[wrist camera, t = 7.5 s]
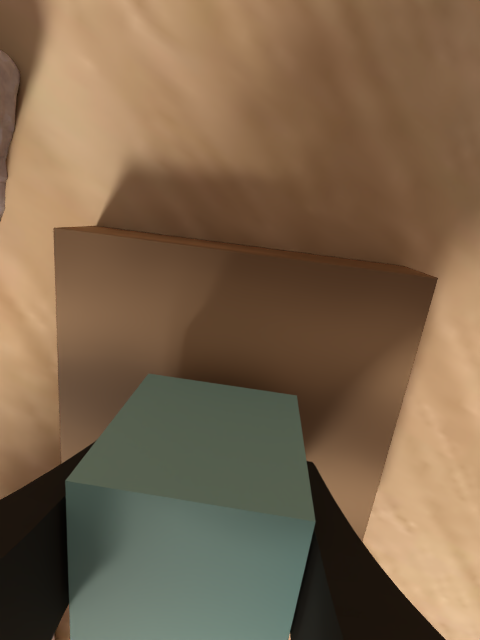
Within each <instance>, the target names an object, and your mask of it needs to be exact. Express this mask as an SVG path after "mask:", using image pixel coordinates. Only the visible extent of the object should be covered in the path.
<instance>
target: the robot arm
mask: <svg viewBox="0 0 480 640" xmlns="http://www.w3.org/2000/svg"><path fill="white" fill-rule="evenodd" d="M96 441H97V440H96ZM96 441H95V442H96ZM95 442H93V443H92V444H90V445H89V446H87V447H86V448H84V449H83V450H81V451H80V452H79V453H77V454H76V455H74V456H72V457H71V458H69V459H68V460H66V461H65V462H63V463H62V464H60V465H59V466H57V467H56V468H54V469H53V470H51V471H49V472H48V473H46V474H44V475H43V476H41V477H39V478H38V479H36V480H34V481H33V482H31V483H29V484H28V485H26V486H24V487H23V488H21V489H19V490H17V491H16V492H14V493H12V494H10V495H8V496H7V497H5V498H3V499H1V500H0V640H55V638H54V633H55V631H56V629H57V627H58V624H59V622H60V620H61V618H62V616H63V614H64V612H65V610H66V608H67V606H68V604H69V582H68V550H67V519H66V487H65V480H66V479H67V478H68V477H69V475H70V474H71V473H72V471H73V470H74V469H75V468H76V466H77V465H78V464H79V462H80V461H81V460H82V459H83V457H84V456H85V455H86V453H87V452H88V451H89V450H90V448H91V447H92V446H93V444H94V443H95ZM307 468H308V474H309V481H310V488H311V495H312V501H313V508H314V515H315V521H316V522H315V526H314V530H313V535H312V539H311V543H310V548H309V552H308V556H307V561H306V565H305V569H304V574H303V578H302V582H301V587H300V591H299V595H298V599H297V604H296V608H295V612H294V617H293V621H292V625H291V630H290V636H291V640H446V639H445V638H444V637H443V636H442V635H441V634H440V633H439V632H438V631H437V630H436V629H435V628H434V627H433V626H432V625H431V624H430V623H429V622H428V621H427V620H426V619H425V617H424V616H423V615H422V614H421V613H420V612H419V611H418V610H417V609H416V608H415V607H414V606H413V605H412V603H411V602H410V601H409V600H408V599H407V598H406V597H405V596H404V594H403V593H402V592H401V591H400V590H399V589H398V587H397V586H396V585H395V584H394V583H393V581H392V580H391V579H390V578H389V576H388V575H387V574H386V573H385V572H384V570H383V569H382V568H381V567H380V565H379V564H378V563H377V561H376V560H375V559H374V557H373V556H372V555H371V553H370V552H369V551H368V549H367V548H366V546H365V545H364V544H363V542H362V541H361V539H360V538H359V537H358V535H357V534H356V532H355V531H354V529H353V528H352V526H351V525H350V523H349V522H348V520H347V519H346V517H345V515H344V514H343V512H342V511H341V509H340V508H339V506H338V504H337V503H336V501H335V499H334V498H333V496H332V494H331V493H330V491H329V489H328V487H327V486H326V484H325V482H324V480H323V479H322V477H321V475H320V473H319V471H318V469H317V467H316V466H315V464H314V463H313V462H310V461H307Z"/></svg>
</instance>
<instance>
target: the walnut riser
mask: <svg viewBox="0 0 480 640" xmlns="http://www.w3.org/2000/svg"><path fill="white" fill-rule="evenodd" d="M54 258H55V289H56V320H57V351H58V382H59V413H60V444H61V464H62V463H63V462H65V461H66V460H68V459H69V458H71V457H72V456H74V455H76V454H77V453H79V452H80V451H81V450H83V449H84V448H86V447H87V446H89V445H90V444H92V443H93V442H95V441H96V440H97V439H98V438H99V437H100V435H101V434H102V433H103V432H104V430H105V429H106V428H107V426H108V425H109V424H110V423H111V421H112V420H113V419H114V417H115V416H116V415H117V414H118V412H119V411H120V410H121V408H122V407H123V406H124V405H125V403H126V402H127V401H128V399H129V398H130V397H131V396H132V394H133V393H134V392H135V390H136V389H137V388H138V387H139V385H140V384H141V383H142V381H143V380H144V379H145V378H146V376H147V375H148V374H155V375H162V376H168V377H175V378H182V379H189V380H195V381H202V382H209V383H216V384H222V385H229V386H236V387H243V388H249V389H256V390H263V391H270V392H276V393H283V394H290V395H297V400H298V407H299V414H300V421H301V427H302V434H303V441H304V447H305V454H306V461H310V462H313V463H314V464H315V466H316V467H317V469H318V471H319V473H320V475H321V477H322V479H323V480H324V482H325V484H326V486H327V487H328V489H329V491H330V493H331V494H332V496H333V498H334V499H335V501H336V503H337V504H338V506H339V508H340V509H341V511H342V512H343V514H344V515H345V517H346V519H347V520H348V522H349V523H350V525H351V526H352V528H353V529H354V531H355V532H356V534H357V535H358V537H359V538H360V539H361V541H363V538H364V534H365V531H366V527H367V524H368V520H369V517H370V513H371V510H372V506H373V503H374V499H375V496H376V492H377V489H378V485H379V482H380V478H381V475H382V471H383V468H384V464H385V461H386V457H387V454H388V450H389V447H390V443H391V440H392V436H393V433H394V429H395V426H396V423H397V419H398V416H399V412H400V409H401V405H402V402H403V398H404V395H405V391H406V388H407V384H408V381H409V377H410V374H411V370H412V367H413V363H414V360H415V356H416V353H417V349H418V346H419V342H420V339H421V335H422V332H423V328H424V325H425V321H426V318H427V314H428V311H429V307H430V304H431V300H432V297H433V293H434V290H435V286H436V283H437V279H438V278H436V277H433V276H430V275H427V274H425V273H422V272H419V271H416V270H413V269H411V268H408V267H405V266H399V265H391V264H384V263H376V262H368V261H361V260H353V259H345V258H338V257H330V256H322V255H314V254H307V253H299V252H291V251H284V250H276V249H268V248H261V247H253V246H245V245H238V244H230V243H222V242H215V241H207V240H199V239H191V238H184V237H176V236H168V235H161V234H153V233H145V232H138V231H130V230H122V229H115V228H107V227H99V226H84V227H62V228H54Z"/></svg>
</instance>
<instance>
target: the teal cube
mask: <svg viewBox="0 0 480 640" xmlns="http://www.w3.org/2000/svg"><path fill="white" fill-rule="evenodd" d="M65 487H66V519H67V550H68V582H69V614H70V640H288V638H289V634H290V630H291V625H292V621H293V617H294V612H295V608H296V604H297V599H298V595H299V591H300V587H301V582H302V578H303V574H304V569H305V565H306V561H307V556H308V552H309V548H310V543H311V539H312V535H313V530H314V526H315V522H316V521H315V515H314V508H313V501H312V495H311V488H310V481H309V474H308V468H307V461H306V454H305V447H304V441H303V434H302V427H301V421H300V414H299V407H298V400H297V395H290V394H283V393H276V392H270V391H263V390H256V389H249V388H243V387H236V386H229V385H222V384H216V383H209V382H202V381H195V380H189V379H182V378H175V377H168V376H162V375H155V374H148V375H147V376H146V378H145V379H144V380H143V381H142V383H141V384H140V385H139V387H138V388H137V389H136V390H135V392H134V393H133V394H132V396H131V397H130V398H129V399H128V401H127V402H126V403H125V405H124V406H123V407H122V408H121V410H120V411H119V412H118V414H117V415H116V416H115V417H114V419H113V420H112V421H111V423H110V424H109V425H108V426H107V428H106V429H105V430H104V432H103V433H102V434H101V435H100V437H99V438H98V439H97V441H96V442H95V443H94V444H93V446H92V447H91V448H90V450H89V451H88V452H87V453H86V455H85V456H84V457H83V459H82V460H81V461H80V462H79V464H78V465H77V466H76V468H75V469H74V470H73V471H72V473H71V474H70V475H69V477H68V478H67V479H66V480H65Z"/></svg>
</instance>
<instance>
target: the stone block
mask: <svg viewBox="0 0 480 640" xmlns="http://www.w3.org/2000/svg"><path fill="white" fill-rule="evenodd" d="M19 83H20V72H19V70H18V68H17V67H16V65H15V63H14V61H13V60H12V59H11V58H10V57H9V56H8V55H7V54H6V53H5V52H3V51H1V50H0V221H1V217H2V215H3V213H4V210H5V186H6V180H7V177H8V176H7V169H6V157H7V153H8V147H9V144H10V142H11V140H12V134H13V132H14V129H15V108H16V96H17V92H18V87H19Z"/></svg>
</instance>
